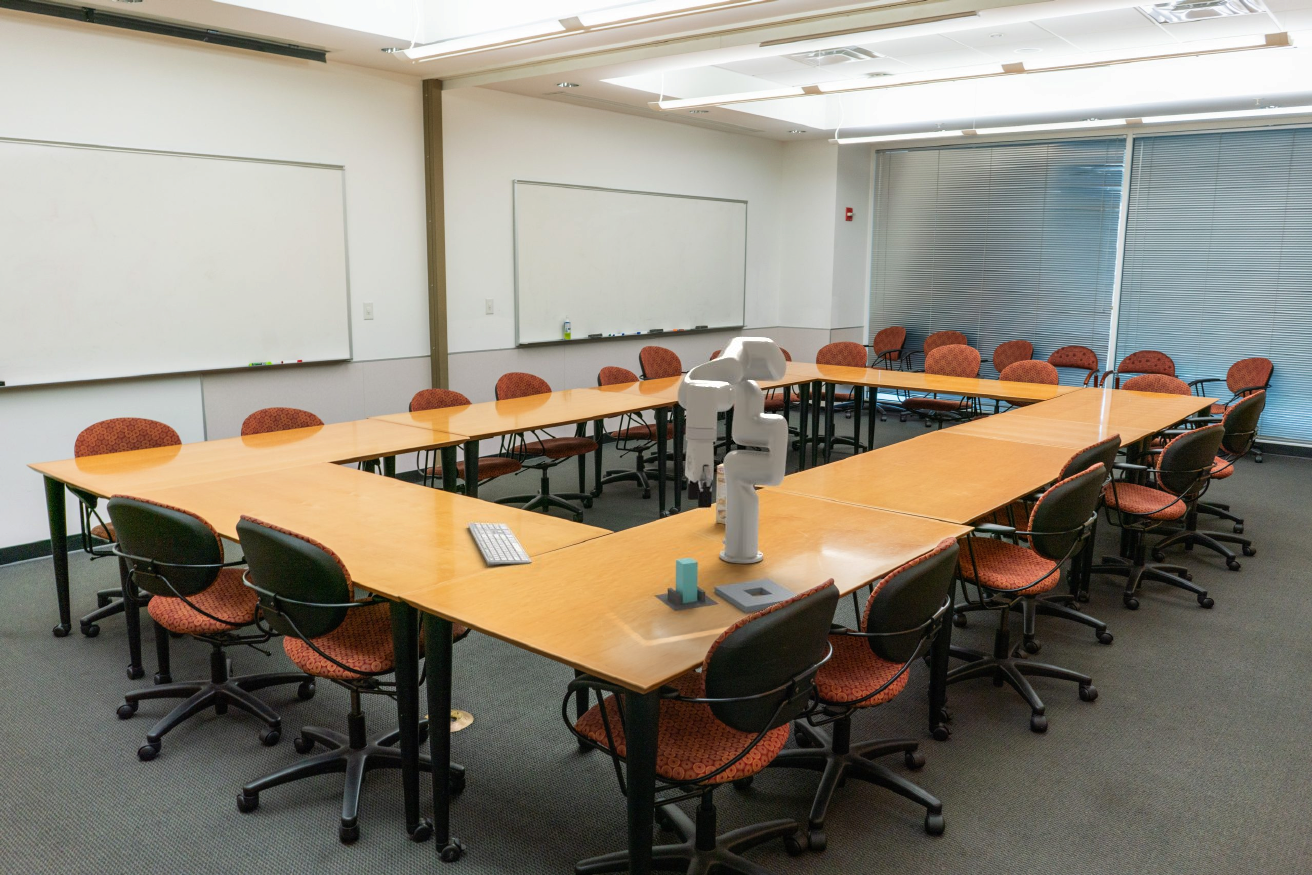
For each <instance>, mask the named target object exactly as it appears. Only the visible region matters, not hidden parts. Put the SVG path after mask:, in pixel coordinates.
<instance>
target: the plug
mask: <svg viewBox="0 0 1312 875" xmlns="http://www.w3.org/2000/svg"><path fill="white" fill-rule="evenodd" d="M698 565H699V562H698V561H696V560H695V559H693V558H691V557H685V558H678V559H675V591H677V592H678V593H679V594H681V595H682V603H687V602H694V601H697V586H698V572H699V571H698Z"/></svg>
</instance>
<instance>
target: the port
mask: <svg viewBox="0 0 1312 875" xmlns="http://www.w3.org/2000/svg"><path fill="white" fill-rule="evenodd" d="M713 588H714V589H713V590H714V594H716V595H717V596H719V597H721V598H722V599H724V600H725V601H726V602H728V603H730V604H732V605H733V606H735V607H737V609H740V610H741V611H743V612H744V613H745V614H747V613H752V612H759V611H764V610H763V609H766V608H768V607H770V606H773V605H775V604H777V603H780V602H783V601H785V600H788V599H790V598H792V597H795V596H797V595H798V593H796V592H794V591H792V590H790V589H788V588H786V587H784V586H783V585H781V584H778V583H777V582H775V581H773V580H772V579H770V578H763V579H756V580H750V581H743V582H737V583H731V584H721V585H718V586H717V585H716V586H714V587H713ZM759 594H762V595H759ZM753 595H757V596H753ZM766 610H767V609H766Z"/></svg>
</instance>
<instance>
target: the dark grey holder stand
mask: <svg viewBox="0 0 1312 875" xmlns="http://www.w3.org/2000/svg"><path fill="white" fill-rule="evenodd" d="M654 597H656V598H657V599H658V600H659V601H661V602H662V603H664V604H665V605H667V606H668V607H669V608H670V609H672V610H673V611H675V612H676V611H683V610H690V609H696V608H702V607H709V606H715V605H720V603H718V601H715V600H714V599H712V598H711V597H709V596H708V595H706V591H705V590H704V589H702V588H701V587H699V586H698V585H697V601H694V602H687V603H682V595H681V594H679V593H678V592H677V591H676V589H673V587H668V588H667V593H661V594H655V595H654Z"/></svg>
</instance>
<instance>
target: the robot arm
mask: <svg viewBox="0 0 1312 875" xmlns="http://www.w3.org/2000/svg"><path fill="white" fill-rule="evenodd" d="M786 372H787V360H786V356H785V355H784V353H783V351H782V350H781V349H780V347H779V346H778V344H777V343H776V341H774V340H772V339H770V338H767V337H756V336H755V337H751V336H739V337H736V336H735V337H733V338H730V339H729V340H728V341H727V342H726V343H725V345H724V346H723V347H722V349H721V351H720V352H719V354H718V355H717V357H716V358H714V359H712V360H710V361H707V362H705V363H702V364H699V365H698V366H695V367H693V368H692V369H691V370H689V371H688V372H687V373H686V375H685V376H684V378H682V380H681V382H680V384H679V386H678V390H677V401H678V403H679V405H680V406H681V407H682V408H683V409H684V410H685V411H686V414H685V415H686V416H685V419H686V420H685V440H686V442H687V443H686V451H685V452H686V453H685V465H684V469H685V470H684V475H685V477H686V478H687V479H688V480H687V481H688V482H687V483H688V484H687V485H688V486H687V499H688V500H691V501H692V500H694V501H697V507H698V508H700V509H706V508H707V509H708V508H712V502H713V501H712V499H713V498H712V497H713V496H712V495H713V494H712V492H713V483H712V481H713V480H714V467H715V466H714V465H715V463H714V462H715V461H714V458H715V457H714V456H715V454H714V442H717V440H718V437H717V433H718V428H717V427H718V412H726V411H729V410H730V409H731V408H732V407H733V406H734V407H733V408H734V409H733V418H732V427H731V429H732V430H731V435H732V440H733V441H734V442H735V444H737V445H741V446H747V447H759V448H768V449H769V451H758V450H749V449H747V450H746V449H735V450H731V451H729V452H728V453H727V454H725V457H723V458H724V459H723V463H722V464H723V468H724V475H725V483H726V524H725V531H724V533H725V534H724V537H725V538H724V539H721V540H722V541H721V543H722V544H723V545H724V549H722V550H721V551H720V552H719V558H720V559H721V560H723V561H724V562H727V563H732V564H755V563H758V562H760V561H762V560H763V559H764V554H763V552H762V551H760V550H758V548H759V521H760V517H759V515H760V499H759V495H758V492H757V491H756V490H755V488H754V486H766V487H777V486H780V485H781V484H782V483H783V481H784V479H785V474H786V466H787V464H786V462H787V451H788V443H789V442H788V441H789V425H788V421H787V420H786V418H785V417H784V416H782V415H781V414H775V413H765V401H766V400H765V399H766V398H765V394H764V392H763V391H762V388H761V387H760V386H759V384H758V383H757V382H779V381H781V380H783V378H784V377H785V375H786ZM752 485H753V486H752Z"/></svg>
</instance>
